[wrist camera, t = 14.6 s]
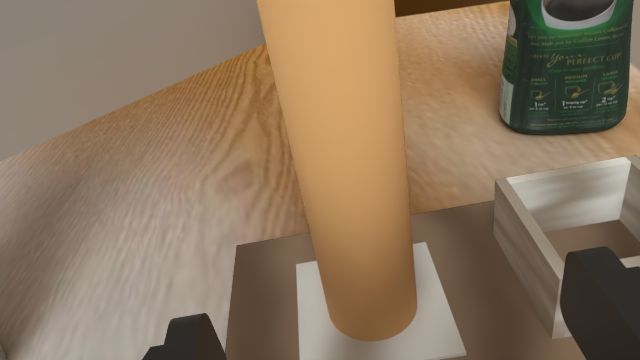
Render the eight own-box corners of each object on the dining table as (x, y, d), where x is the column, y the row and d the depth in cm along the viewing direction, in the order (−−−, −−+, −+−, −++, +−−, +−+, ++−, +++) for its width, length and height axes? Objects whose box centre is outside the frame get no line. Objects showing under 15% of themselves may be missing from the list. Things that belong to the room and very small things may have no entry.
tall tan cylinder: (313, 297, 28) (211, -106, 17) (383, 259, 30) (334, -134, 18) (358, 357, 24) (268, -105, 13) (436, 311, 26) (415, -141, 15)
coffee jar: (608, 91, 45) (649, -155, 34) (633, 136, 38) (692, -148, 28) (493, 98, 47) (499, -130, 37) (500, 141, 41) (509, -118, 31)
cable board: (222, 474, 23) (183, 406, 20) (242, 261, 34) (219, 197, 31) (858, 375, 21) (922, 285, 18) (655, 189, 33) (673, 116, 30)
